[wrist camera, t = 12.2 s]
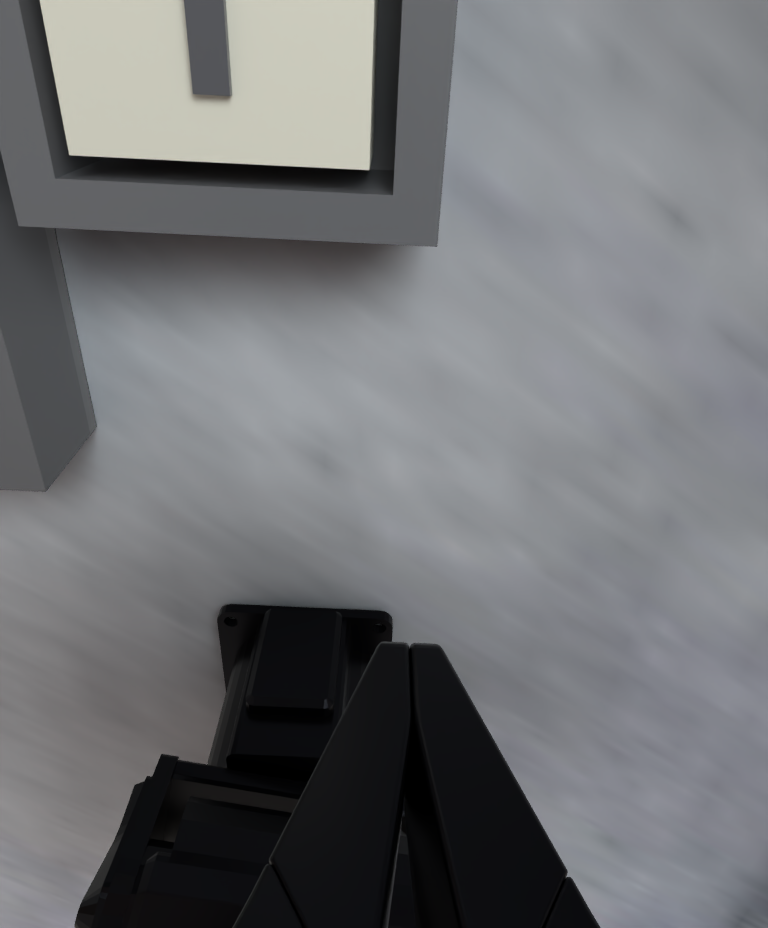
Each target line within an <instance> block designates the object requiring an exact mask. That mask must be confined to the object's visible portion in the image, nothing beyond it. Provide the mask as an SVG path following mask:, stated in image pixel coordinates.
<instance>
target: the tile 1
mask: <svg viewBox="0 0 768 928" xmlns="http://www.w3.org/2000/svg"><path fill="white" fill-rule="evenodd" d="M40 5H41V10H42V15H43V21H44V26H45V31H46V36H47V41H48V47H49V52H50V57H51V62H52V68H53V73H54V78H55V83H56V88H57V94H58V99H59V104H60V109H61V115H62V120H63V125H64V130H65V136H66V141H67V146H68V151H69V155H74V156H94V157H114V158H134V159H155V160H175V161H195V162H215V163H235V164H255V165H275V166H295V167H315V168H335V169H355V170H370V165H371V161H372V156H373V146H374V114H375V83H376V51H377V20H378V0H40Z"/></svg>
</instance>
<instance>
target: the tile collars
mask: <svg viewBox="0 0 768 928" xmlns="http://www.w3.org/2000/svg"><path fill="white" fill-rule="evenodd" d="M457 5H458V0H378V20H377V51H376V83H375V114H374V146H373V156H372V161H371V165H370V170H355V169H335V168H315V167H295V166H275V165H255V164H235V163H215V162H195V161H175V160H155V159H134V158H114V157H94V156H74V155H69V151H68V146H67V141H66V136H65V130H64V125H63V120H62V115H61V109H60V104H59V99H58V94H57V88H56V83H55V78H54V73H53V68H52V62H51V57H50V52H49V47H48V41H47V36H46V31H45V26H44V21H43V15H42V10H41V5H40V0H0V490H21V491H42V492H46V491H47V490H48V488H49V487H50V486H51V485H52V483H53V482H54V481H55V480H56V478H57V477H58V476H59V474H60V473H61V472H62V471H63V469H64V468H65V467H66V465H67V464H68V463H69V462H70V460H71V459H72V458H73V456H74V455H75V454H76V453H77V451H78V450H79V449H80V447H81V446H82V445H83V444H84V442H85V441H86V440H87V438H88V437H89V436H90V435H91V433H92V432H93V431H94V429H95V428H96V427H97V426H96V421H95V416H94V412H93V407H92V402H91V398H90V393H89V388H88V384H87V379H86V374H85V370H84V365H83V360H82V356H81V351H80V346H79V342H78V337H77V332H76V328H75V323H74V318H73V314H72V309H71V304H70V299H69V295H68V290H67V285H66V281H65V276H64V271H63V267H62V262H61V257H60V253H59V248H58V243H57V239H56V234H55V229H54V228H65V229H85V230H106V231H126V232H147V233H167V234H187V235H208V236H228V237H249V238H269V239H289V240H310V241H330V242H351V243H371V244H391V245H412V246H432V247H437V242H438V230H439V218H440V206H441V195H442V183H443V171H444V159H445V147H446V135H447V123H448V111H449V100H450V88H451V76H452V64H453V52H454V40H455V28H456V16H457Z"/></svg>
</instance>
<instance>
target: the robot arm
mask: <svg viewBox="0 0 768 928" xmlns="http://www.w3.org/2000/svg"><path fill="white" fill-rule="evenodd" d="M229 617H234V618H235V619H232V618H229ZM217 622H218V630H219V638H220V646H221V654H222V662H223V670H224V678H225V686H226V695H225V699H224V703H223V707H222V711H221V714H220V718H219V722H218V726H217V730H216V733H215V737H214V741H213V745H212V748H211V752H210V756H209V760H208V764H207V765H206V764H200V763H194V762H188V761H182V760H178V759H179V757H177V756H171V755H165V754H161V756H160V759H159V761H158V764H157V766H156V769H155V771H154V774H153V776H152V777H150V776H147V777H146V779H145V781H144V782H142V783H139V784H136V785H135V786H134V789H133V792H132V794H131V797H130V800H129V803H128V806H127V808H126V811H125V814H124V817H123V820H122V822H121V825H120V828H119V830H118V833H117V835H116V837H115V840H114V842H113V844H112V846H111V848H110V850H109V851H108V853H107V855H106V857H105V859H104V861H103V863H102V865H101V866H100V868H99V870H98V872H97V874H96V876H95V878H94V880H93V882H92V883H91V885H90V887H89V889H88V891H87V893H86V895H85V897H84V898H83V900H82V903H81V905H80V908H79V911H78V914H77V917H76V921H75V928H600V926H599V925H598V923H597V921H596V919H595V918H594V916H593V914H592V913H591V911H590V909H589V908H588V906H587V904H586V902H585V901H584V899H583V897H582V895H581V893H580V892H579V890H578V888H577V886H576V885H575V883H574V881H573V879H572V878H571V877H566V876H567V873H568V872H567V869H566V867H565V866H564V864H563V862H562V860H561V858H560V857H559V855H558V853H557V851H556V850H555V848H554V846H553V844H552V842H551V841H550V839H549V837H548V835H547V834H546V832H545V830H544V828H543V826H542V825H541V823H540V821H539V819H538V818H537V816H536V814H535V812H534V810H533V809H532V807H531V805H530V803H529V802H528V800H527V798H526V796H525V794H524V793H523V791H522V789H521V787H520V786H519V784H518V782H517V780H516V778H515V777H514V775H513V773H512V771H511V770H510V768H509V766H508V764H507V762H506V761H505V759H504V757H503V755H502V754H501V752H500V750H499V748H498V747H497V745H496V743H495V741H494V739H493V738H492V736H491V734H490V732H489V731H488V729H487V727H486V725H485V723H484V722H483V720H482V718H481V716H480V715H479V713H478V711H477V709H476V707H475V706H474V704H473V702H472V700H471V699H470V697H469V695H468V693H467V691H466V690H465V688H464V686H463V684H462V683H461V681H460V679H459V677H458V675H457V674H456V672H455V670H454V668H453V667H452V665H451V663H450V661H449V659H448V658H447V656H446V654H445V652H444V651H443V649H442V648H441V646H439V645H438V644H426V643H413V644H412V645H411V646H410V649H409V646H408V644H407V643H404V642H392V629H393V621H392V617H391V616H390V615H389V614H388V613H386V612H383V611H371V610H349V609H327V608H305V607H283V606H260V605H238V604H229V605H225V606H223V607H222V608H221V610H220V613H219V616H218V620H217ZM379 623H380V624H383V625H375V624H379Z"/></svg>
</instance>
